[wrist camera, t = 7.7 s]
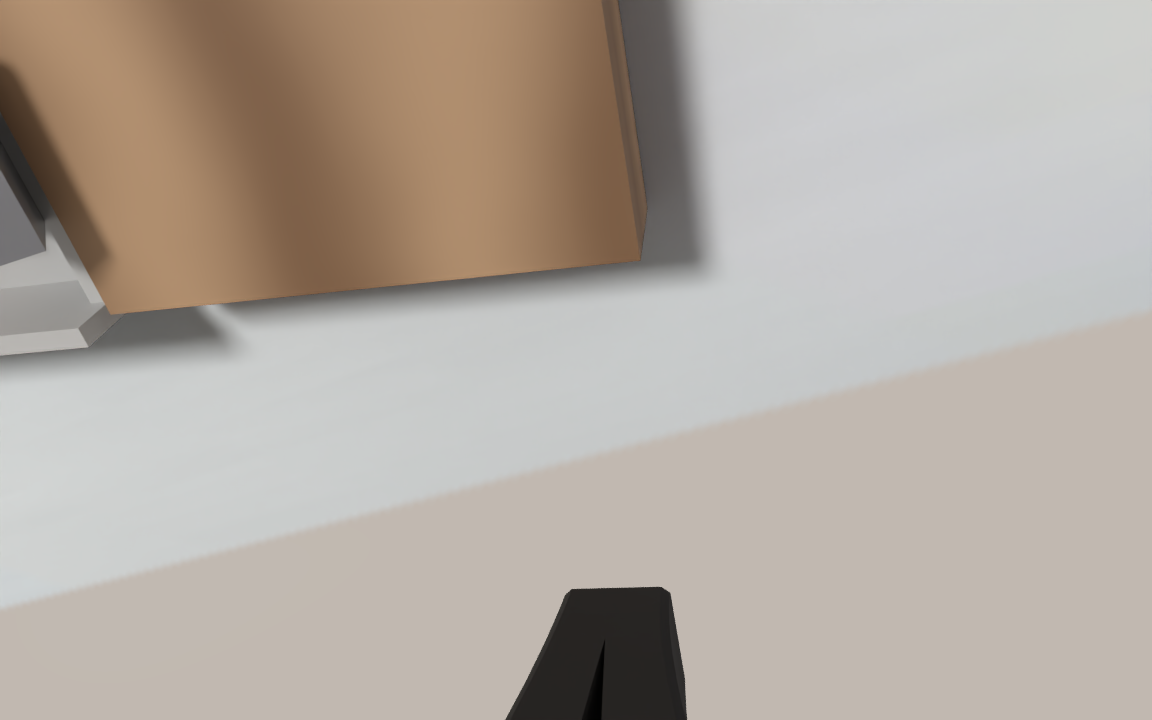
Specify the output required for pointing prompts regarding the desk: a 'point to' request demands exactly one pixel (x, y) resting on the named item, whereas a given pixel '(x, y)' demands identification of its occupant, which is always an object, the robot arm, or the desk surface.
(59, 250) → the tray
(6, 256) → the tile charcoal
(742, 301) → the desk surface
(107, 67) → the walnut board
